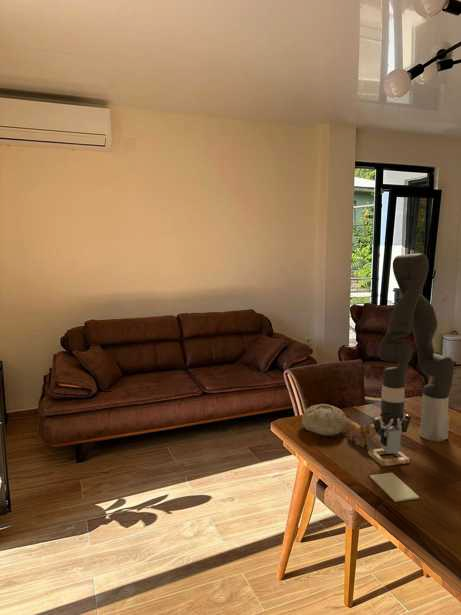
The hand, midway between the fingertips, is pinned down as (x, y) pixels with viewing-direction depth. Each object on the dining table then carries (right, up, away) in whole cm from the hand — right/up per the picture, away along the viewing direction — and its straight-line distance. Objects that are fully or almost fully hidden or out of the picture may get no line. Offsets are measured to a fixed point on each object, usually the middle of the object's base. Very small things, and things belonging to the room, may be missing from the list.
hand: (390, 443), depth 152 cm
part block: (0, -2, 0) cm, 2 cm away
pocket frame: (0, -5, +1) cm, 5 cm away
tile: (-6, -8, -17) cm, 20 cm away
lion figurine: (-7, -4, +13) cm, 15 cm away
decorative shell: (-19, -2, +23) cm, 30 cm away
